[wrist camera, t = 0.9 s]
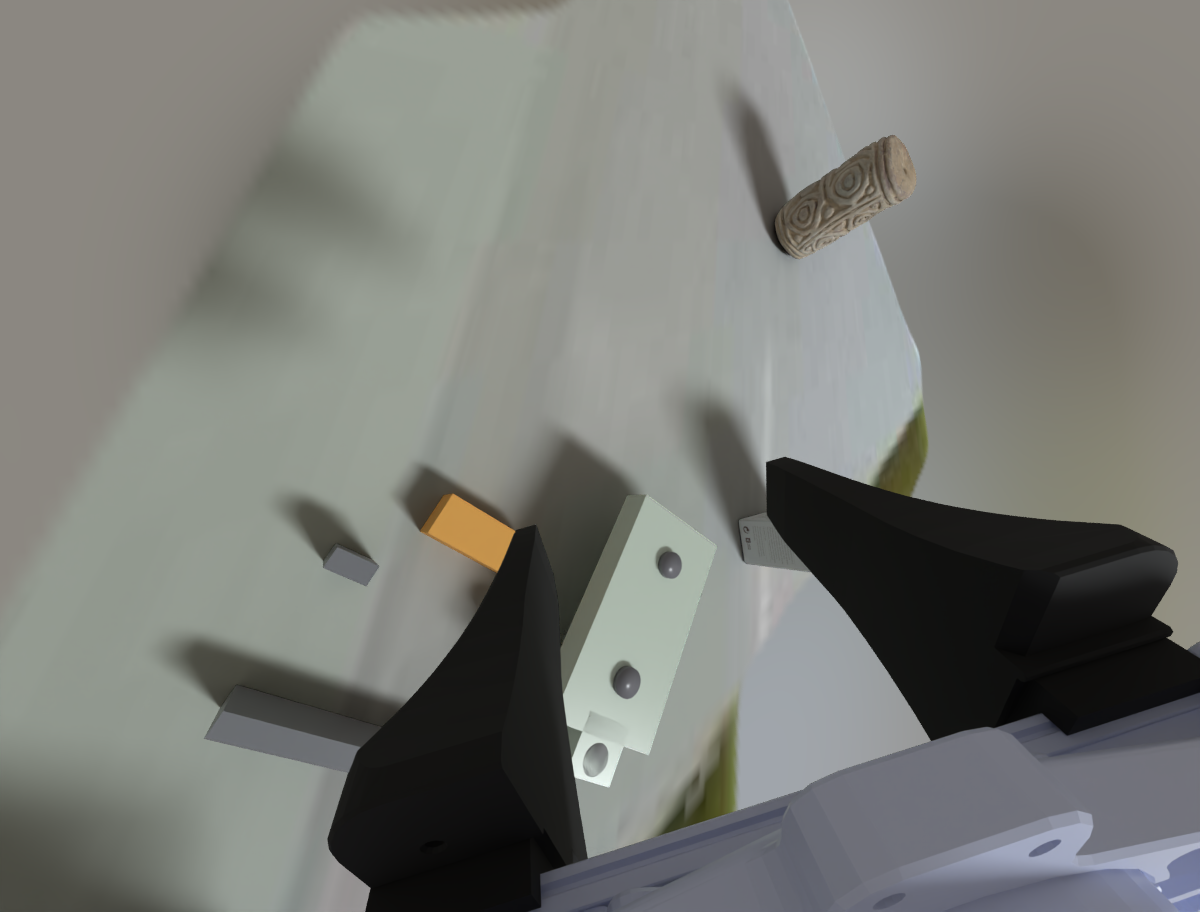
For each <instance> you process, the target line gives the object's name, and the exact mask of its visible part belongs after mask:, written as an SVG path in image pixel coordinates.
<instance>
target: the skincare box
mask: <svg viewBox="0 0 1200 912" xmlns="http://www.w3.org/2000/svg"><path fill="white" fill-rule="evenodd" d="M739 528H740V534H741V541H742V548H743V555H744V561H745V563H746V564H749V565H757V566H765V567H773V568H782V569H789V570H797V571H804V572H811V571H810V570H809V569H808V568H807V567H806V566H805V565H804V564H803V562H802V561H801V560H800V559H799V558H798V557H797V556H796V554H795V553H794V552H793V551H792V550H791V549H790V548H789V546H788V545H787V544H786V543H785V542H784V540H783V539H782V538H781V536H780V535H779V533H778V532H777V530H776V529H775V527H774V526H773V524H772V523H771V521H770V519H769V518H768V516H767V512H765V513H761V514H758V515H754V516H750V517H747V518H743V519H740V520H739Z"/></svg>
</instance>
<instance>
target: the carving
mask: <svg viewBox="0 0 1200 912" xmlns="http://www.w3.org/2000/svg"><path fill="white" fill-rule="evenodd" d="M915 186H916V173H915V169H914V166H913V163H912V161H911V158H910V156H909V153H908V151H907V149H906V147H905V145H904V144H903V143H902V142H901V141H900V140H899V139H898V138H897V137H896V136H895V135H890V136H888V137H887V138H886V137H883V138H881V139H880V140H879V141H878V142H877V143H876V142H873V143H871V144H870V145H869V146H866V147H864V148H863V149H862V150H860V151H859V152H858V153H857V154H855V155H854V156H852V157H851V158H850V159H848V160H847V161H845V162H844V163H843V164H842V165H841V166H840V167H839V168H838V169H837V168H836V169H833V170H832V171H830V172H829V173H827V174H826V175H825V176H823V177H822V178H821V180H818V181H816V182H814V183H813V184H811V185H809V186H808V187H806V188H805V189H803V190H802V191H800V192H799V193H798V194H797V195H796V196H794V197H793V198H792V199H791V200H789V201H788V202H787V203H786V204H785V205H784V206H783V207H782V208H781V209H780V211H779V213H778V215H777V217H776V220H775V228H776V233H777V236H778V239H779V241H780V243H781V245H782V246H783V247H784V248H785V250H786V251H787V252H788V253H789V254H790V255H791V256H792V257H794V258H796V259H801V258H803V257H807V256H809V255H810V254H813V253H815V252H816V251H817V250H820V249H822V248H824V247H826V246H827V245H829V244H831V243H832V242H834V241H836V240H838V239H839V237H842V236H844V235H846V234H847V233H849V232H850V230H853V229H855V228H857V227H858V226H860V225H861V224H863V223H865V222H867V221H868V220H870V219H871V218H872V217H874V216H875V215H876V214H878V213H880V212H881V211H883V210H885V209H886V208H890V207H892V206H893V205H897V204H899V203H900V202H901V201H902V200H904V199H907V198H908V197H909V196H911V195H912V193H913V191H914V189H915Z"/></svg>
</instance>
